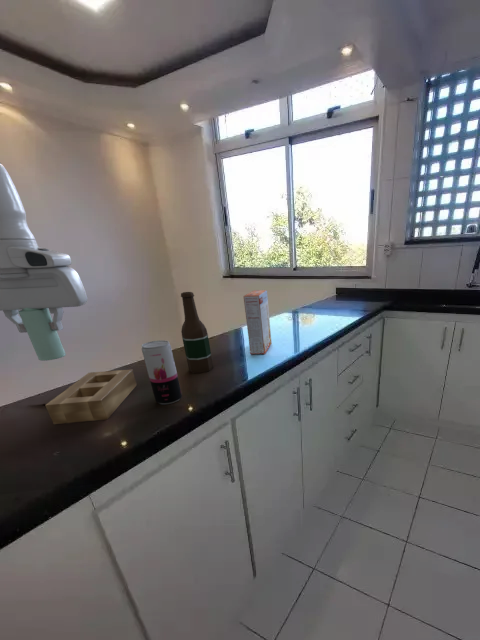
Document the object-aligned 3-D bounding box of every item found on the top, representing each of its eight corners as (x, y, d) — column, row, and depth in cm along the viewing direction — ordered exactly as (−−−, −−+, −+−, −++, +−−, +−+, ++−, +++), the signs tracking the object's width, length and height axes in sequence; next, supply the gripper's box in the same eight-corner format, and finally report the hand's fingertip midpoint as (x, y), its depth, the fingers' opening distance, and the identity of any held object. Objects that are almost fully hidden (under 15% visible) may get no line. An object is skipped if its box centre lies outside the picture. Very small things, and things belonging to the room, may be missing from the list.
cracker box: (257, 343, 126) (252, 289, 117) (272, 343, 126) (268, 289, 116) (249, 354, 114) (242, 295, 104) (265, 354, 113) (260, 294, 104)
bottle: (33, 361, 64) (-1, 284, 58) (47, 354, 68) (17, 282, 62) (58, 359, 65) (27, 283, 58) (70, 352, 69) (43, 281, 62)
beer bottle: (218, 367, 102) (206, 291, 92) (200, 375, 97) (184, 294, 86) (202, 363, 106) (188, 290, 96) (183, 371, 100) (167, 293, 90)
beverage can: (171, 406, 78) (157, 348, 71) (150, 403, 79) (134, 347, 73) (187, 395, 83) (175, 340, 77) (167, 393, 85) (153, 339, 78)
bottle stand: (53, 424, 71) (45, 405, 69) (94, 388, 90) (88, 372, 88) (107, 419, 73) (100, 400, 70) (136, 385, 91) (132, 369, 89)
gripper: (-64, 260, 54) (-25, 338, 60) (60, 255, 56) (86, 331, 62) (-34, 259, 60) (-1, 330, 66) (78, 255, 62) (100, 324, 68)
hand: (42, 331), depth 64 cm, fingers closed on bottle, 5 cm apart
